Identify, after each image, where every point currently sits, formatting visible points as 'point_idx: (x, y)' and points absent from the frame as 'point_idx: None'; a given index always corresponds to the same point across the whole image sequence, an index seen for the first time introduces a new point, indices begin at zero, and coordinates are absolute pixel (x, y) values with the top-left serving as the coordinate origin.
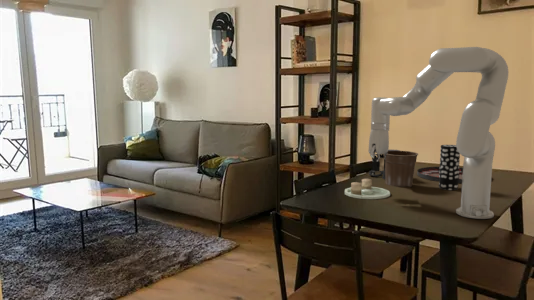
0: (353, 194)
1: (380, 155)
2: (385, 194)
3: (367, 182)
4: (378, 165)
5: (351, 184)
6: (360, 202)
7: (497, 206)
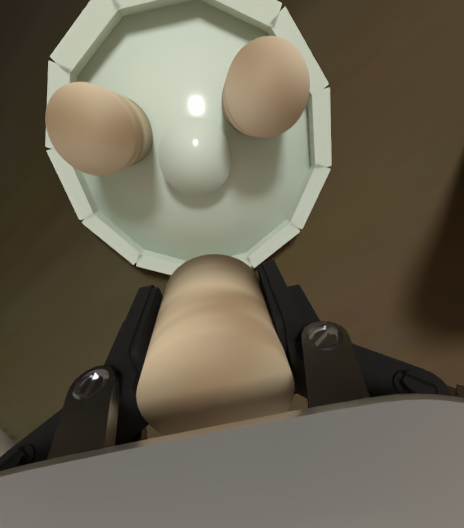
0: (63, 160)
1: (338, 384)
2: None
3: (238, 125)
4: None
5: (50, 108)
6: (70, 227)
7: None
